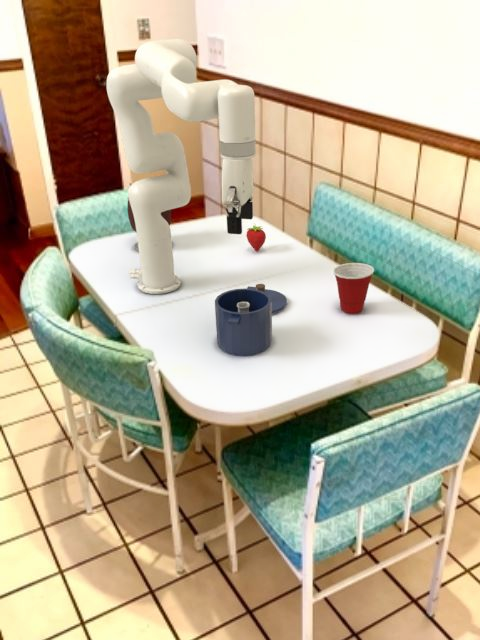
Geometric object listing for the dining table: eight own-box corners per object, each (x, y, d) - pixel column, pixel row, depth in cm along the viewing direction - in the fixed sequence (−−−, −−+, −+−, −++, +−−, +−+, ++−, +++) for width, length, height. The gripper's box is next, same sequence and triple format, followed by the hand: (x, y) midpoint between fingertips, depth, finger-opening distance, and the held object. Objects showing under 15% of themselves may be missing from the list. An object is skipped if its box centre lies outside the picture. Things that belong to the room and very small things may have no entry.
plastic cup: (348, 296, 180) (350, 257, 174) (379, 308, 173) (382, 268, 167) (322, 309, 174) (324, 268, 167) (354, 322, 167) (356, 280, 161)
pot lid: (228, 313, 172) (227, 294, 169) (241, 290, 184) (241, 272, 181) (281, 318, 169) (281, 299, 166) (291, 295, 181) (291, 276, 178)
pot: (207, 358, 153) (204, 316, 147) (228, 321, 168) (226, 281, 162) (262, 364, 150) (261, 321, 144) (279, 326, 166) (278, 286, 160)
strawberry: (254, 257, 206) (253, 227, 200) (243, 249, 211) (242, 220, 206) (269, 253, 208) (269, 224, 203) (258, 246, 214) (258, 217, 209)
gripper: (231, 138, 143) (234, 212, 151) (208, 158, 128) (213, 238, 137) (264, 139, 141) (265, 214, 150) (244, 159, 127) (247, 241, 136)
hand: (240, 225), depth 143 cm, fingers open, 9 cm apart
